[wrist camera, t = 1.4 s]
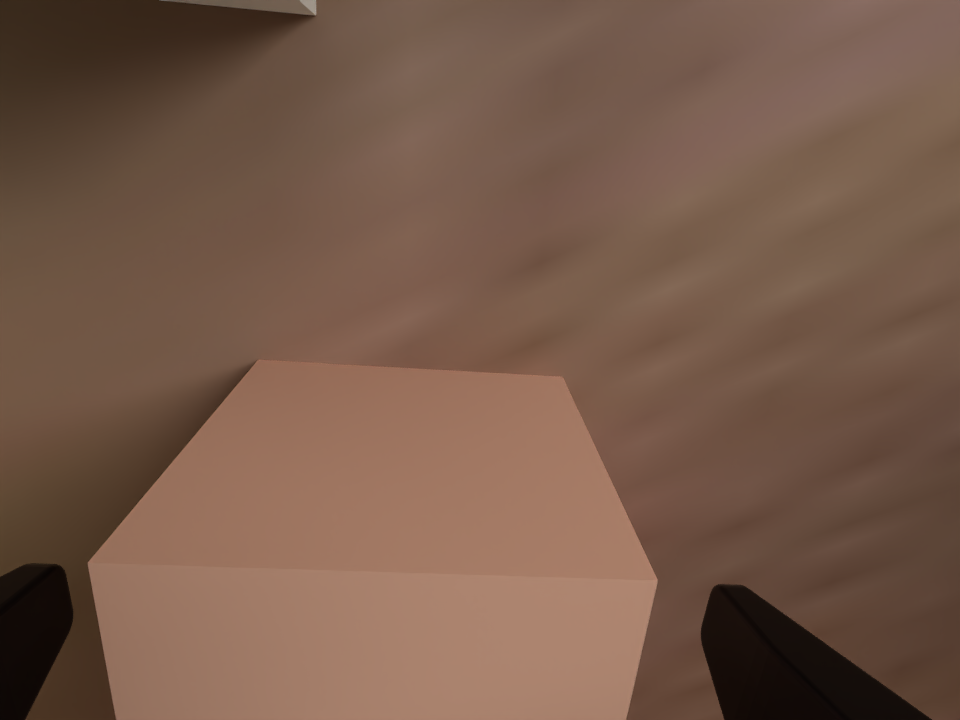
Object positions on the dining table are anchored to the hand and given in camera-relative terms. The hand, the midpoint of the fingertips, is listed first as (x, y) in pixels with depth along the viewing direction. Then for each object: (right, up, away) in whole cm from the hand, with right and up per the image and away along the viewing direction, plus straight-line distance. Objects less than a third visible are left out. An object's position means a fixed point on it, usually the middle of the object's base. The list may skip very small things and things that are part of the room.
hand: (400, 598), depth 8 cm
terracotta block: (0, +1, +2) cm, 3 cm away
